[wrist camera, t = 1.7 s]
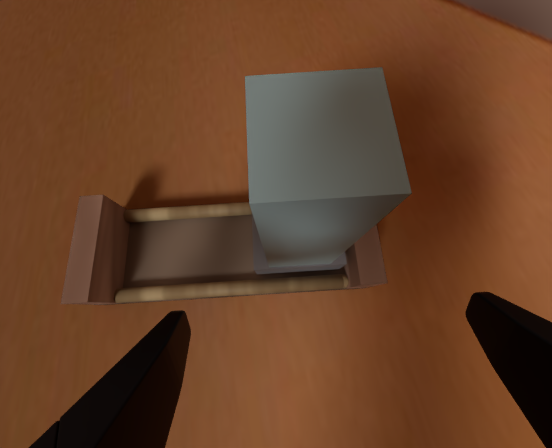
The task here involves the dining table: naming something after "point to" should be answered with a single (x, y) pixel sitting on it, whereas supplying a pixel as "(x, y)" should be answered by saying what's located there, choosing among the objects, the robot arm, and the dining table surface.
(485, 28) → the dining table surface
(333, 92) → the carriage
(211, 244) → the rail track
